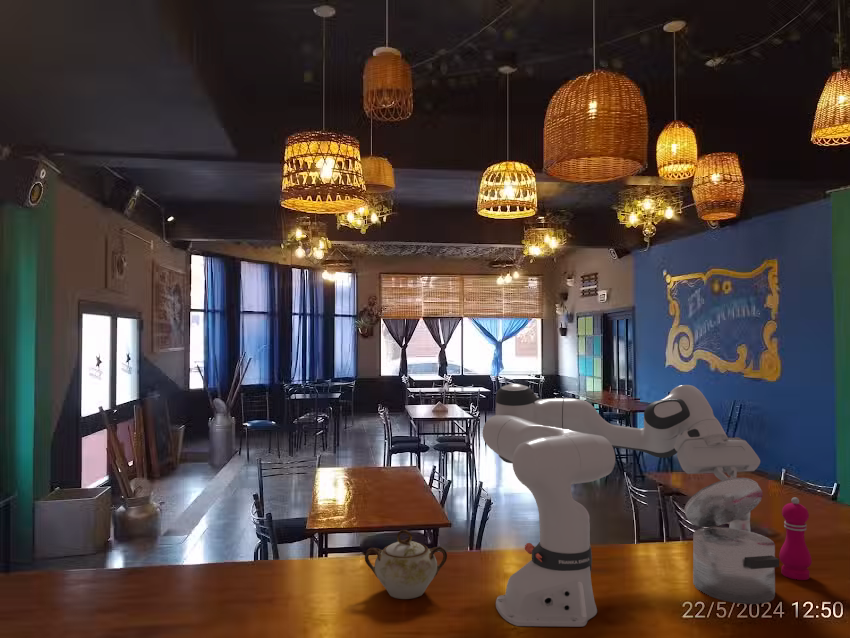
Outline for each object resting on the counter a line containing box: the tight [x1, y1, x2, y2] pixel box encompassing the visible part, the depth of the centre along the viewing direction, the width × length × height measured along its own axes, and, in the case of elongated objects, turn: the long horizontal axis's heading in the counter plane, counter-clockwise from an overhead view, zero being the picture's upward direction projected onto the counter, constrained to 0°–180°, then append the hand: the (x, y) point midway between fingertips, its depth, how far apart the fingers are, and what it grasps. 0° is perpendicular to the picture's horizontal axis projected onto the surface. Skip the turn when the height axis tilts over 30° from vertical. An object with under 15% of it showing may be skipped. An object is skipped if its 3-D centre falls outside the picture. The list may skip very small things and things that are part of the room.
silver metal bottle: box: [728, 511, 752, 532], centre depth 186 cm, size 6×7×20 cm
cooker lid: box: [684, 477, 763, 528], centre depth 164 cm, size 19×19×3 cm
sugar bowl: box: [364, 529, 448, 600], centre depth 156 cm, size 20×15×15 cm
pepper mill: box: [778, 497, 813, 581], centre depth 168 cm, size 7×7×20 cm
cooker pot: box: [692, 526, 780, 605], centre depth 159 cm, size 18×22×12 cm
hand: (732, 485), depth 160 cm, fingers closed, pressing on cooker lid
